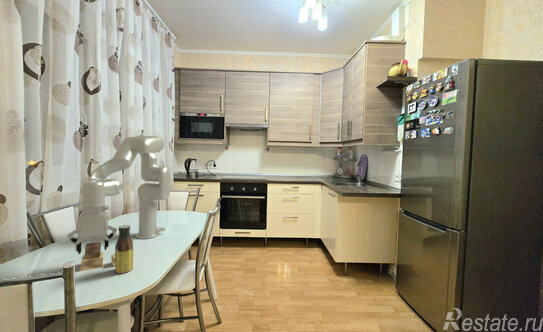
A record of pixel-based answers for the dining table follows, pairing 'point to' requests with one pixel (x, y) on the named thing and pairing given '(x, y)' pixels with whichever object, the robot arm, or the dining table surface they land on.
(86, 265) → the oak plinth
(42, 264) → the dining table surface
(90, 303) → the dining table surface
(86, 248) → the walnut cube
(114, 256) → the maple block
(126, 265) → the sauce bottle
